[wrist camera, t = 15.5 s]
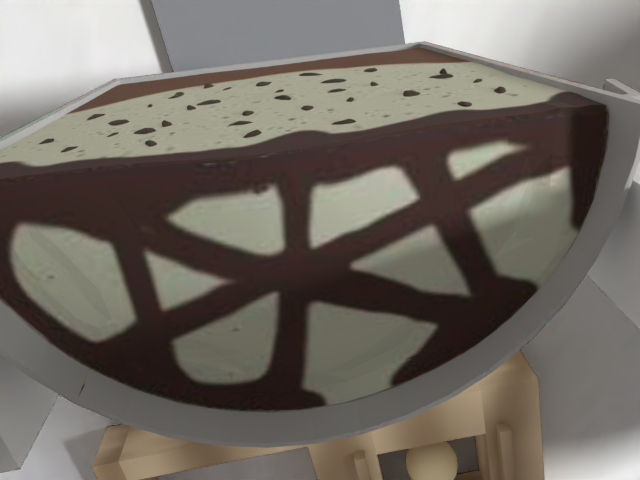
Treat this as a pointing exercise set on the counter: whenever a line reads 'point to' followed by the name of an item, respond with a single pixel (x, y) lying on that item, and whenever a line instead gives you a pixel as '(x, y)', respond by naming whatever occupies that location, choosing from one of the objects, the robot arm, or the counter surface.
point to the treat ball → (432, 462)
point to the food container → (302, 237)
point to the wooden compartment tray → (370, 438)
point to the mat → (272, 29)
